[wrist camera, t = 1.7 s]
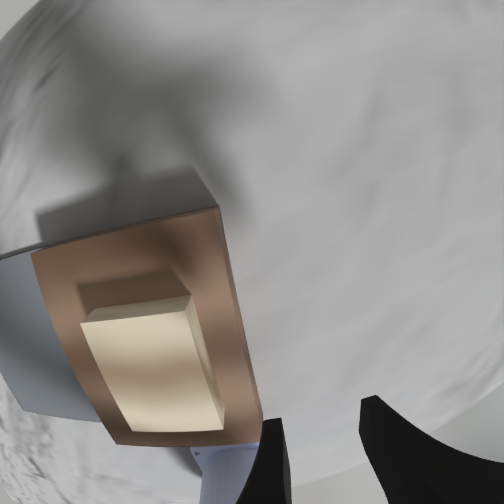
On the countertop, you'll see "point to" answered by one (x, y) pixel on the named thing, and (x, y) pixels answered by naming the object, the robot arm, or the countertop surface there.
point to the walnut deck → (149, 289)
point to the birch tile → (156, 365)
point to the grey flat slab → (35, 348)
